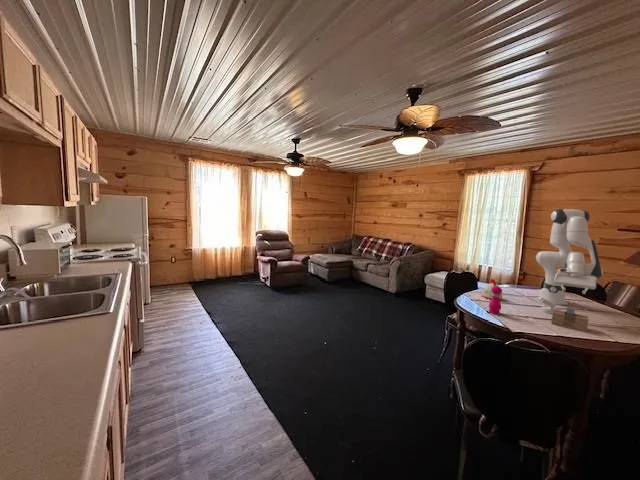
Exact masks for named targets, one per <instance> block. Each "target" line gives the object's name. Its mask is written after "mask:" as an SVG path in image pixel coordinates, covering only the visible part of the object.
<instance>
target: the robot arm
mask: <svg viewBox="0 0 640 480" xmlns="http://www.w3.org/2000/svg"><path fill="white" fill-rule="evenodd" d="M590 217H591V215H590V213H589V211H586V210H584V209H576V208H575V209H574V208H570V209H569V208H559V209H558V208H557V209H554V210H553V211H552V212H551V214H550V221H551V222H552V227H551V230H550V236H549V237H550V238H549V243H550V245H551V246H553V247H555V248H556V249H558V251H553V250H552V251H550V250H541V251H538V252H537V254H536V255H535V259H536V260H535V261H536V262H537V263H538V264H539V265H540V266H541V267H542V268H543V269H544V274H545V277H544V278H545V279H544V282H543V288H541V289H540V291H539V296H537V297H536V300H538V301H540V300H541V299H542V298H544V299H546V300H548V301H550V302H552V303H554V304H555V305H558V306H568V305H569V304H568V302H567V301H566V294H567V293H565V292H566V287H573V288H579V289H584V290H582V291H581V292H582V293H581V294H583V295H586V293H587V291H588V290H596V289H597V282H598V281H597V280H598V279H600V278H602V277H603V274H604V272H603V271H604V270H603V267H602V266H601V263H600V257H599V252H598V249H597V244H596V242H595V240H594V239H592V238H590V236H589V226H588V222H589V220H590ZM570 244H571V245H574V246H576V247H579V248H583V249H586V250H587V251H588V254H589V257H590V261H591V262H590V263H586V262H585V261H586V260H585V255H584V253H583V252H580V251H573V250H572V248H571V245H570ZM556 267H559V268H558V269H556ZM560 267H561V268H560Z"/></svg>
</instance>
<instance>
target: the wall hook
mask: <svg viewBox="0 0 640 480" xmlns="http://www.w3.org/2000/svg"><path fill="white" fill-rule="evenodd" d="M539 301H540V303H542V304H544V305H545V306H541V307H540V311H541V312H542V313H545V314H549V315H553V309H556V310H558V309H557V308H556V304H554V303H552V302H550V301H548V300H546V299H544V298H542V299H541V300H539ZM546 305H547V306H546Z"/></svg>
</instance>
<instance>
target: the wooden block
mask: <svg viewBox="0 0 640 480" xmlns="http://www.w3.org/2000/svg"><path fill="white" fill-rule="evenodd" d="M556 309H557V308H555V309H553V314H552V317H551V323H550V324H551V325H555V326H559V327H563V328H567V329H573V330H576V331H580V332H585V333H588V331H587V330H588V325H589V315H585V314H581V313H575V312H574V316H571V315H566V312H567V310H565V311H564V310H560V309H557V310H556Z"/></svg>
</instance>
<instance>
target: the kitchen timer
mask: <svg viewBox="0 0 640 480" xmlns="http://www.w3.org/2000/svg"><path fill="white" fill-rule="evenodd" d="M496 284H497V282H496V280H495V279H493V278H490V281H489V284H487V285H486V286H485V287H484V288H482V291H481V298H482V297H484V298H486V299H485V300H487V299H489V300H488V301H491V300H492V293H493V292H492V291H491V289H492V287H494V286H496ZM500 294H501V295H500V298H499V301H500V302H502V301H503V292H502V293H500ZM484 298H483V299H484Z"/></svg>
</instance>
